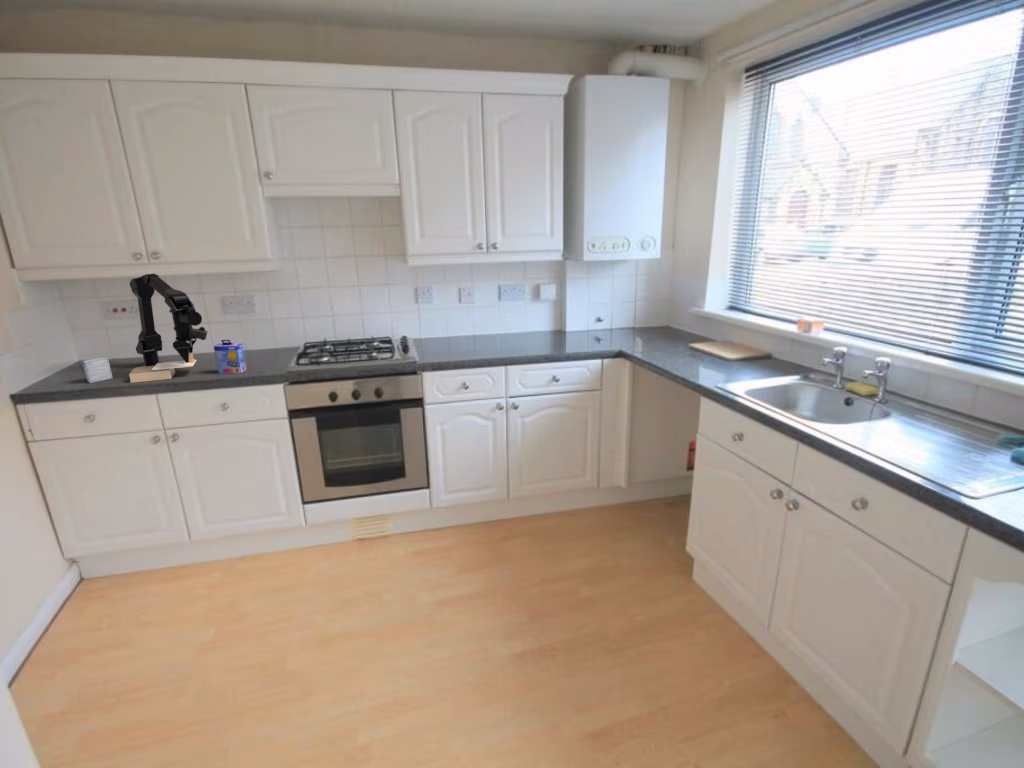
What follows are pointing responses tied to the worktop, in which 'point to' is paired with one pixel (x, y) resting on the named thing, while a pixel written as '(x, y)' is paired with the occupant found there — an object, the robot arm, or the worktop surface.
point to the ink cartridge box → (230, 357)
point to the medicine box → (97, 370)
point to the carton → (150, 374)
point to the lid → (175, 364)
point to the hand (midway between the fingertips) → (189, 360)
